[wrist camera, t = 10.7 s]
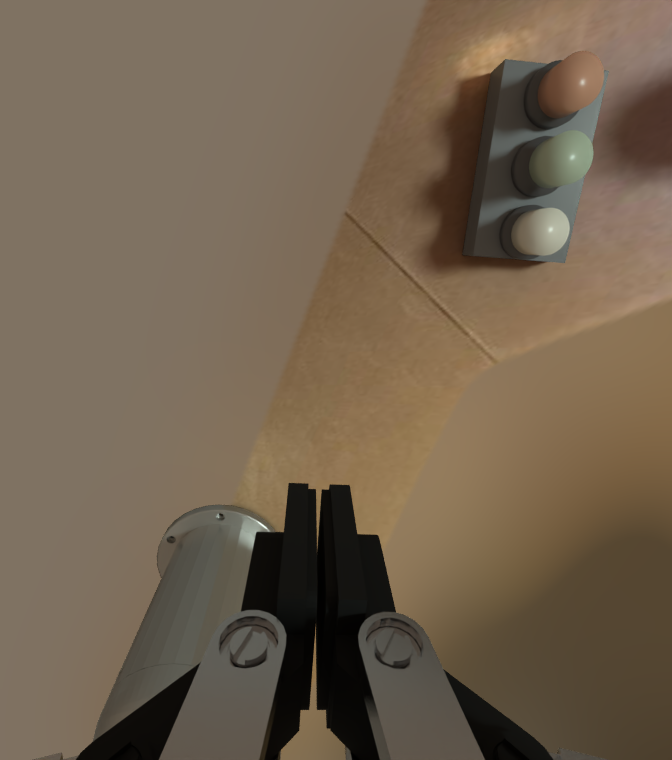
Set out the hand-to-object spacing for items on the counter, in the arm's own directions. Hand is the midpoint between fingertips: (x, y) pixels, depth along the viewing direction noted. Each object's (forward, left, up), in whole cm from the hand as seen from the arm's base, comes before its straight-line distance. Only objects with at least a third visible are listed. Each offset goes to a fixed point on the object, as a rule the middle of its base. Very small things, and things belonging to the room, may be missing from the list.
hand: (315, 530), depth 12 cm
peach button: (+19, -16, -23) cm, 34 cm away
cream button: (+9, -16, -23) cm, 30 cm away
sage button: (+14, -16, -23) cm, 31 cm away
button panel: (+14, -16, -27) cm, 34 cm away
